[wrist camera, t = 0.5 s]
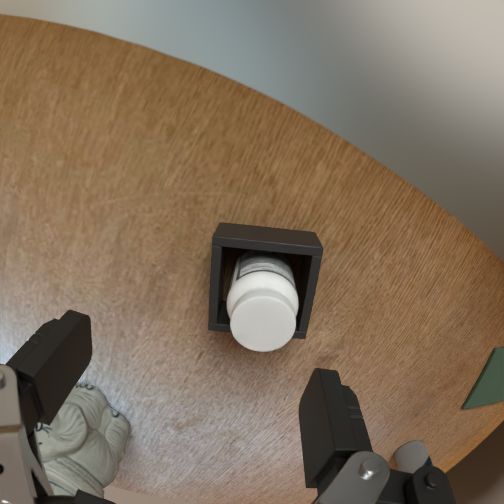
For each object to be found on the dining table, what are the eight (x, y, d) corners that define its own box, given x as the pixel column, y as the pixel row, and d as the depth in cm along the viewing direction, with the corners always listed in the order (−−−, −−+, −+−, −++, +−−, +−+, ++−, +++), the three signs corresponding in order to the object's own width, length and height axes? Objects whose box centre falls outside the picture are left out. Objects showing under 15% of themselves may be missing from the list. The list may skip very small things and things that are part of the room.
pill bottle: (270, 306, 33) (272, 369, 24) (222, 279, 32) (207, 335, 23) (303, 263, 31) (319, 315, 22) (253, 232, 30) (249, 275, 21)
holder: (219, 222, 30) (212, 236, 26) (315, 232, 30) (323, 247, 26) (214, 306, 33) (208, 330, 29) (300, 314, 33) (305, 339, 29)
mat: (494, 347, 35) (496, 350, 34) (536, 343, 35) (538, 345, 34) (461, 407, 39) (462, 409, 38) (506, 398, 39) (507, 400, 38)
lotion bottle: (415, 456, 43) (445, 542, 24) (389, 460, 43) (414, 552, 24) (428, 437, 41) (464, 528, 22) (400, 441, 41) (432, 540, 22)
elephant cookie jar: (42, 342, 36) (-31, 431, 19) (137, 381, 38) (86, 499, 20) (53, 411, 42) (7, 490, 24) (132, 445, 43) (100, 537, 25)
